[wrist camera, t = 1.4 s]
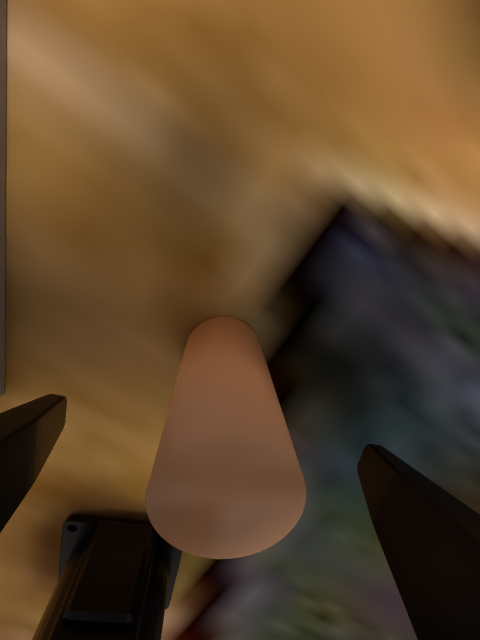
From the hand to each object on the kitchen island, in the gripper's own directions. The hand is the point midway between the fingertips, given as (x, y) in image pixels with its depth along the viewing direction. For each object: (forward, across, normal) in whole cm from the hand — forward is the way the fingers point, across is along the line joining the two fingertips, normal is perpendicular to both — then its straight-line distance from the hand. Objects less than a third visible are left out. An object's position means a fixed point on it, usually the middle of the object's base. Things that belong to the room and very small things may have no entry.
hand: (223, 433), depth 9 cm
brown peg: (+6, 0, 0) cm, 6 cm away
